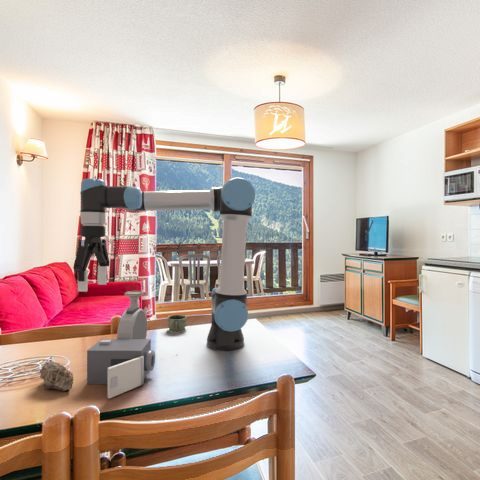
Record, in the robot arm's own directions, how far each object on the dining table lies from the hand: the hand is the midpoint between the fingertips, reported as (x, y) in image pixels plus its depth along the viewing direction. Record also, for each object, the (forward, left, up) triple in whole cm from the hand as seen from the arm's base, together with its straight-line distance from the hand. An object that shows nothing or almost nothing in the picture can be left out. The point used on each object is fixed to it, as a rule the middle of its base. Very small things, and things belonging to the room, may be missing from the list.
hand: (93, 287), depth 105 cm
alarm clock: (-12, -5, -26) cm, 29 cm away
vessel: (-22, -37, -26) cm, 51 cm away
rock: (+3, +16, -26) cm, 31 cm away
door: (-18, +19, -26) cm, 37 cm away
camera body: (-14, +10, -26) cm, 31 cm away
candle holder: (-7, -22, -26) cm, 35 cm away
